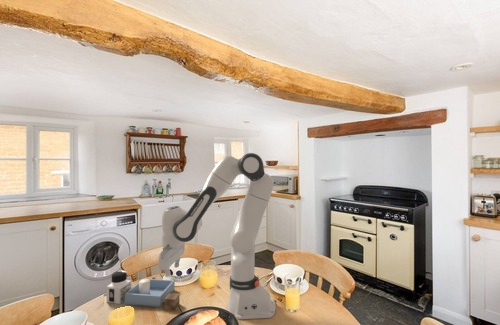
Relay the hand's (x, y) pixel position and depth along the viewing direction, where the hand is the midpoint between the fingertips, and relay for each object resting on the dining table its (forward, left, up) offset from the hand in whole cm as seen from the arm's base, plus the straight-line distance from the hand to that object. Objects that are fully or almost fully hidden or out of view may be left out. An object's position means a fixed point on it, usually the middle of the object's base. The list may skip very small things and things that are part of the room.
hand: (172, 271), depth 113 cm
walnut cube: (0, 0, -16) cm, 16 cm away
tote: (+14, -6, -16) cm, 22 cm away
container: (+28, -3, -17) cm, 33 cm away
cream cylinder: (+17, -6, -16) cm, 24 cm away
